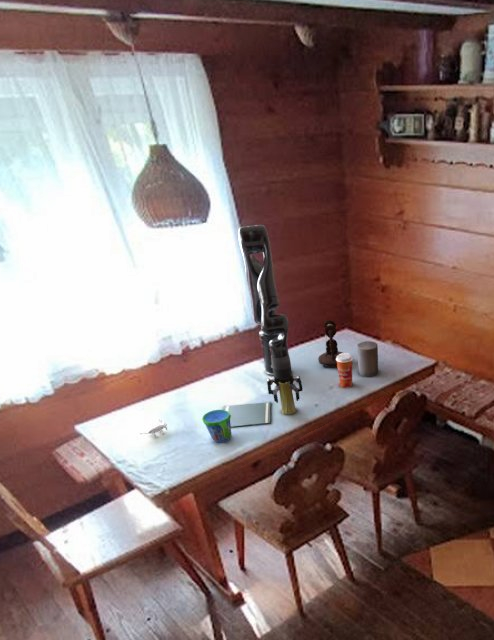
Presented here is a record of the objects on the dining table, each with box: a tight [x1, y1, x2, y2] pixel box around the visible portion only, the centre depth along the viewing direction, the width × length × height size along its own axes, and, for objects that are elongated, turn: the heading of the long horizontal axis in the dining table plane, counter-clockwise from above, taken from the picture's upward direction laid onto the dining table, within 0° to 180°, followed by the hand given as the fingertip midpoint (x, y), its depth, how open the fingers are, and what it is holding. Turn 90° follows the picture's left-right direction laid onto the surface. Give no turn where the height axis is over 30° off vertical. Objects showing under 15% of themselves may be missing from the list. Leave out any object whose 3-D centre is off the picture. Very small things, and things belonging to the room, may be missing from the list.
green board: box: [223, 401, 272, 428], centre depth 218 cm, size 18×20×1 cm
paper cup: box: [336, 352, 354, 389], centre depth 233 cm, size 8×8×14 cm
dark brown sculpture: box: [317, 319, 344, 368], centre depth 250 cm, size 15×15×20 cm
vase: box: [278, 381, 297, 415], centre depth 216 cm, size 6×6×14 cm
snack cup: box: [201, 409, 232, 443], centre depth 201 cm, size 16×10×10 cm
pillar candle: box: [356, 340, 380, 378], centre depth 242 cm, size 10×10×15 cm
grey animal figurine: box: [139, 419, 169, 438], centre depth 206 cm, size 12×5×5 cm, turn 141°
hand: (287, 401), depth 217 cm, fingers open, 8 cm apart
